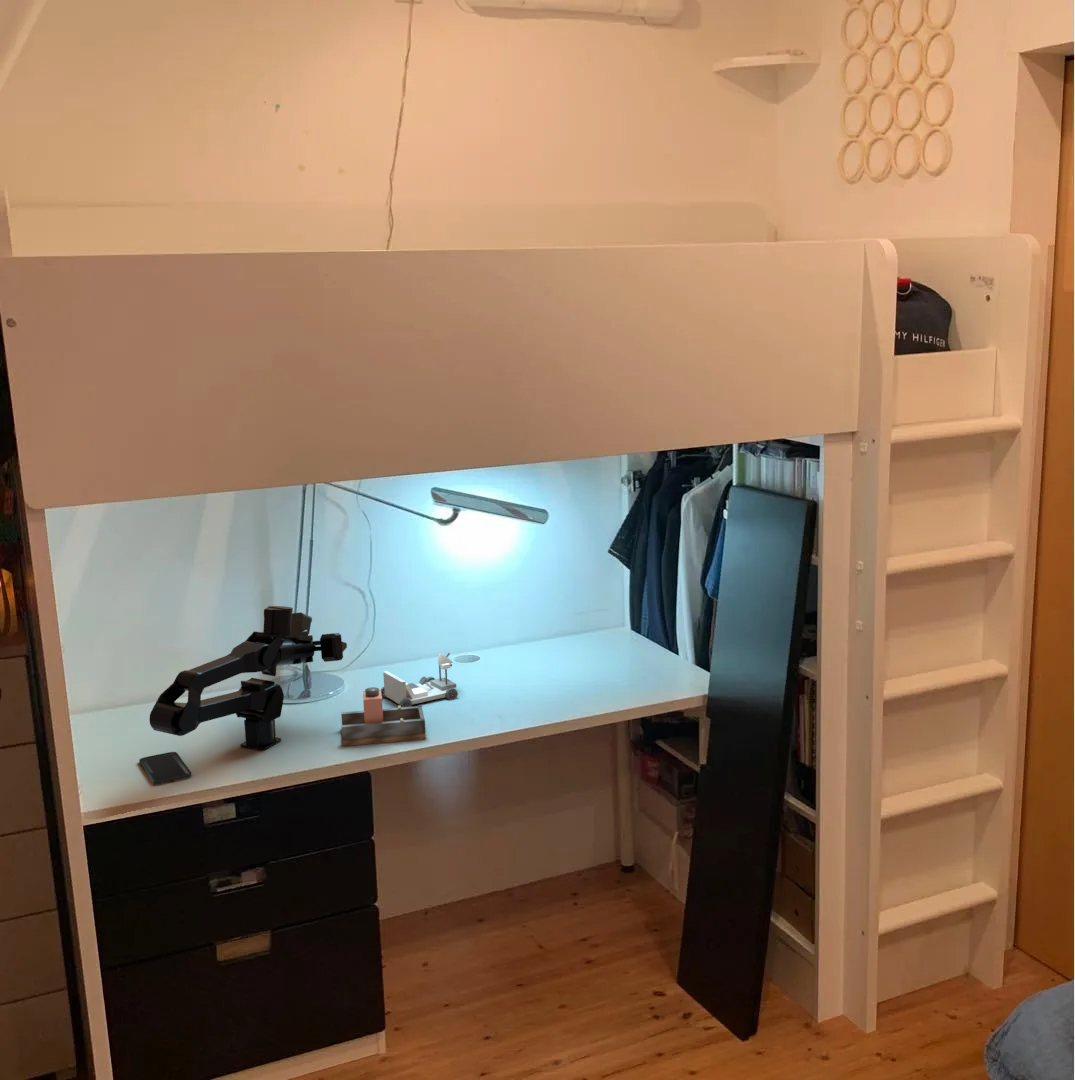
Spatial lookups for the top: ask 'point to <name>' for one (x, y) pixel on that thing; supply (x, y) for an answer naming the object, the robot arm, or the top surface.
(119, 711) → the top surface
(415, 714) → the track
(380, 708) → the slider
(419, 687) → the toy car
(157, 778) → the phone
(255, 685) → the robot arm
